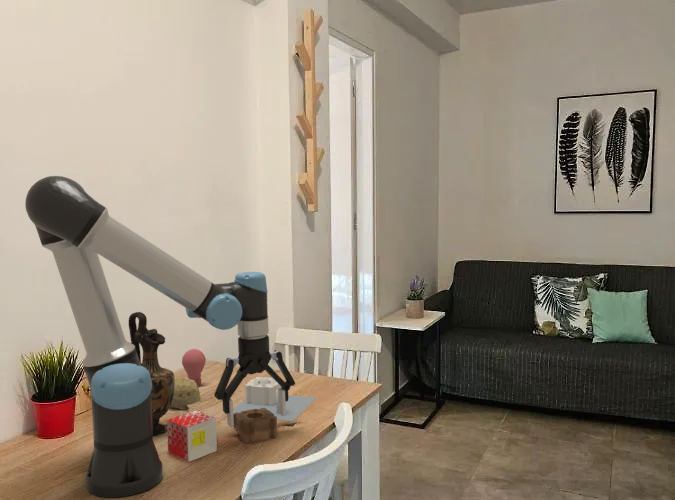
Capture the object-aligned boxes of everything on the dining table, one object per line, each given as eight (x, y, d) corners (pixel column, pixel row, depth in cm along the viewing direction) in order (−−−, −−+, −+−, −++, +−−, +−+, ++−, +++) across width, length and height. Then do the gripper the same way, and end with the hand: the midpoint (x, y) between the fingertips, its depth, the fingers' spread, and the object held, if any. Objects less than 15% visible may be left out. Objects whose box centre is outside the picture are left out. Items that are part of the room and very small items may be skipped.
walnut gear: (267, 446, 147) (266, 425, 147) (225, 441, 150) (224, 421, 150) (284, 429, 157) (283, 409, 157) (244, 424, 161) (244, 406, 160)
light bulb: (180, 385, 194) (179, 348, 193) (203, 382, 197) (202, 345, 196) (185, 392, 188) (184, 353, 186) (208, 389, 190) (207, 350, 189)
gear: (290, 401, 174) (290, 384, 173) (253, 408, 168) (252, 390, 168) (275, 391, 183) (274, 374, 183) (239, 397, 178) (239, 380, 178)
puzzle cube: (188, 462, 139) (187, 427, 138) (168, 452, 144) (166, 419, 143) (217, 450, 145) (216, 417, 144) (196, 442, 150) (195, 410, 149)
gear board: (292, 426, 159) (292, 398, 158) (225, 419, 164) (224, 392, 164) (316, 402, 177) (316, 377, 176) (255, 397, 183) (254, 372, 182)
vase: (149, 442, 150) (145, 320, 147) (115, 432, 156) (111, 315, 153) (185, 427, 159) (182, 311, 157) (152, 418, 166) (148, 307, 163)
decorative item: (201, 416, 177) (206, 383, 183) (192, 405, 169) (197, 371, 174) (169, 416, 178) (175, 383, 183) (158, 405, 170) (164, 371, 175)
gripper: (293, 326, 161) (296, 405, 163) (198, 339, 149) (203, 425, 151) (306, 331, 154) (309, 414, 156) (207, 346, 142) (212, 435, 145)
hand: (257, 419), depth 154 cm, fingers open, 13 cm apart
